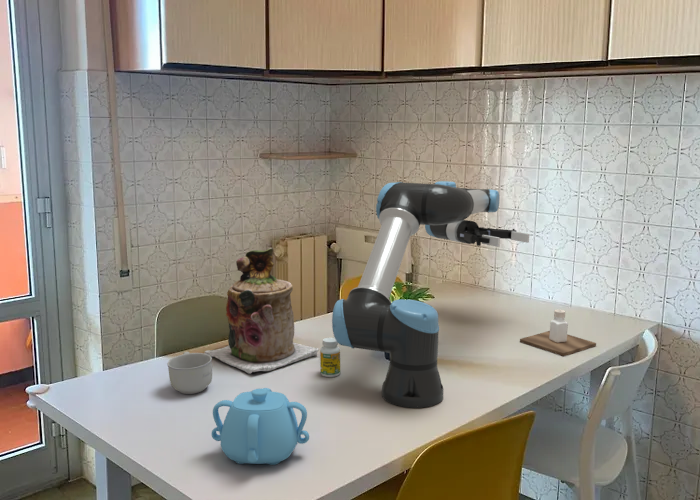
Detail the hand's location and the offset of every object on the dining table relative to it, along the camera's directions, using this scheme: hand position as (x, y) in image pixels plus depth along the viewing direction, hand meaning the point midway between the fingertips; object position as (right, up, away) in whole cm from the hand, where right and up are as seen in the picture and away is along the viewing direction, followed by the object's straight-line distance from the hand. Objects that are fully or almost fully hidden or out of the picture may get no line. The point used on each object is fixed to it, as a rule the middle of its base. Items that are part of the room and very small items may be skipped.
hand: (514, 240), depth 208 cm
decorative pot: (-68, -45, -69) cm, 107 cm away
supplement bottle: (-55, -36, -25) cm, 71 cm away
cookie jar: (-76, -34, -12) cm, 84 cm away
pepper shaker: (+14, -31, +1) cm, 34 cm away
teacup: (-90, -38, -35) cm, 104 cm away
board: (+13, -32, +1) cm, 35 cm away
